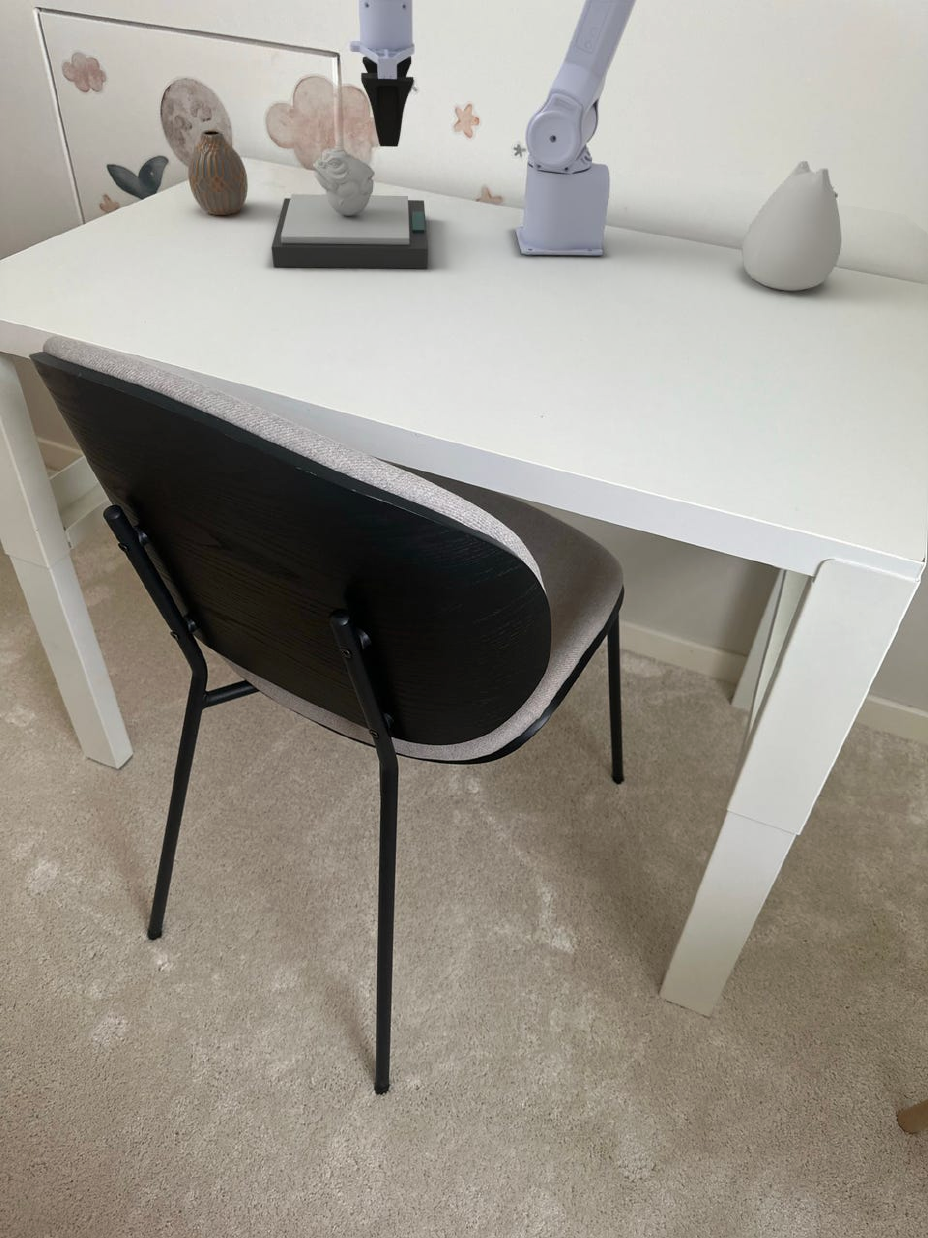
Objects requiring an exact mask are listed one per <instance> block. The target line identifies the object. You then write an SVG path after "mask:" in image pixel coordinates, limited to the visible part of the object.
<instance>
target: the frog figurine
mask: <svg viewBox="0 0 928 1238" xmlns="http://www.w3.org/2000/svg"><path fill="white" fill-rule="evenodd" d="M312 166H313V167H314V169H315V170H314V177H315V179H316V180H317V182H318V183H319V185H320V187H322V189H324V190H325V195H326V196H327V199H328V202H329V204H330V205H331V207H332V208H333V209H334V210H335V211H336V212H338V213H340V214H342V215H346V216H353V215H356V214H359V213H360V212H362V211H363V210H364V209H365V207H366V206H367V204H368V202H369V199H370V196H371V195H373V192H374V183H375V182H374V181H375V180H374V179H373V177H374V176H375V175H376V173H375V171H374V170H373V168H372V167H371V166H369V165H368V163H366V162H365V161H362V160H361V159H359V158H357V157H355V156H354V155H352V154H350V153H349V152H348V151H347V150H345V149H344V148H343V147H334V148H326V149H324V150H323V151H322V154H321V158H320V157H318V159H317V160H315V162H314V163H313V164H312Z"/></svg>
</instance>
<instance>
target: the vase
mask: <svg viewBox="0 0 928 1238" xmlns="http://www.w3.org/2000/svg"><path fill="white" fill-rule="evenodd" d="M188 182H189V186H190V191H191V193H192V195H193V198H194V199H195V201H196V203H197V204H198V205H199V207H201V208H202V209H203V210H204V211H205V212H206V213H208V214H210V215H214V216H229V215H233V214H236V213H237V212H239V211H240V210H241V208H243V206H244V204H245V202H246V200H247V196H248V190H249V189H248V188H249V185H248V175H247V170H246V168H245V165H244V162H243V160H242V159H241V156H240V155H239V154H238V152H237V151H236V150H235V149H234V148H233V147H232V145H231V144H230V143H229V141H227V139H226V138H225V135H224V133H223V132H222V131H221V130H218V129H205V130H203V131H201V132H200V137H199V141H198V143H197V145H196V147H195V148H194V150H193V152H192V154H191V156H190V158H189V164H188Z"/></svg>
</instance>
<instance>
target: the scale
mask: <svg viewBox="0 0 928 1238" xmlns="http://www.w3.org/2000/svg"><path fill="white" fill-rule="evenodd" d="M271 255H272V263H273V264H272V265H273V267H274V268H335V269H336V268H337V269H338V268H339V269H340V268H341V269H343V268H347V269H426V270H427V269H428V268H429V267H428V266H429V262H428V261H429V248H428V235H427V222H426V208H425V200H423V199H422V200H421V199H409V196H408V195H377V194H376V195H373V194H371V196H370V199H369V202H368V204H367V206H366V207H365V209H364V210H363V211H362V212H360V213H359V214H356V215H353V216H346V215H342V214H340V213H338V212H336V211H335V210H334V209H333V208H332V207H331V205H330V204H329V202H328V199H327V196H326V194H317V193H316V194H314V193H313V194H312V193H311V194H310V193H309V194H308V193H307V194H306V193H305V194H303V193H291V194H290V197H284V199H283V203H282V207H281V210H280V214H279V218H278V222H277V225H276V229H275V232H274V237H273V240H272V244H271Z"/></svg>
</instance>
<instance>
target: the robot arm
mask: <svg viewBox="0 0 928 1238" xmlns="http://www.w3.org/2000/svg"><path fill="white" fill-rule="evenodd" d="M636 3H637V0H584V3H583V6H582V9H581V12H580V14H579V18H578V20H577V23H576V25H575V29H574V31H573V34H572V37H571V39H570V42H569V45H568V48H567V51H566V53H565V56H564V59H563V62H562V63H561V65H560V68H559V69H558V72H557V73H556V75H555V78H554V79H553V82H552V83H551V86H550V88H549V90H548V94H547V96H546V99H545V101H544V102H543V104H542V105H541V106H540V107H539V108H538V109H537V110H536V111H535V112H534V113H533V114H532V115H531V117H530V118H529V121H528V122H527V125H526V129H525V137H524V139H525V145H526V150H527V152H528V155H527V163H526V164H527V165H526V177H525V190H524V201H523V216H522V226H516V227H515V228H514V229H515V234H516V238H517V242H518V245H519V249H520V252H521V254H522V255H527V256H528V255H529V256H531V255H533V256H534V255H535V256H539V255H540V256H542V255H543V256H602V255H603V252H604V250H603V245H604V244H603V242H604V235H605V229H606V220H607V214H608V207H609V198H610V186H611V185H610V184H611V183H610V181H611V180H610V179H611V177H610V170H609V166H608V165H607V164H605V163H595V162H593V157H592V155H591V152H590V150H589V147H588V146H587V144H588V143H589V142H590V141H591V140H592V138H593V137H594V136H595V134H596V132H597V129H598V126H599V118H600V117H599V103H600V100H601V96H602V94H603V92H604V89H605V85H606V80H607V74H608V72H609V69H610V68H611V65H612V62H613V59H614V58H615V55H616V52H617V50H618V47H619V45H620V42H621V39H622V37H623V35H624V32H625V29H626V27H627V24H628V23H629V20H630V17H631V14H632V12H633V10H634V7H635V4H636ZM358 13H359V14H358V16H359V17H358V18H359V40H352V41H350V42H349V51H350V52H352V53H360V54H361V55H363V57H362V61H361V62H362V64H363V66H364V68H365V71H366V72H361V73H360V81H361V84H362V86H363V88H364V91H365V93H366V95H367V97H368V99H369V104H370V106H371V107H370V108H371V110H372V115H373V119H374V121H373V122H374V127H375V131H376V137H377V141H378V144H379V147H388V148H389V147H395V148H396V147H399V144H400V139H401V135H402V134H401V133H402V126H403V118H404V112H405V108H406V104H407V99H408V97H409V94H410V92H411V90H412V88H413V85H414V82H415V81H414V77H413V76H407V75H408V72H409V70H410V67H411V65H412V56H413V55H414V54H415V43H414V41H413V35H414V34H413V0H358Z"/></svg>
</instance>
